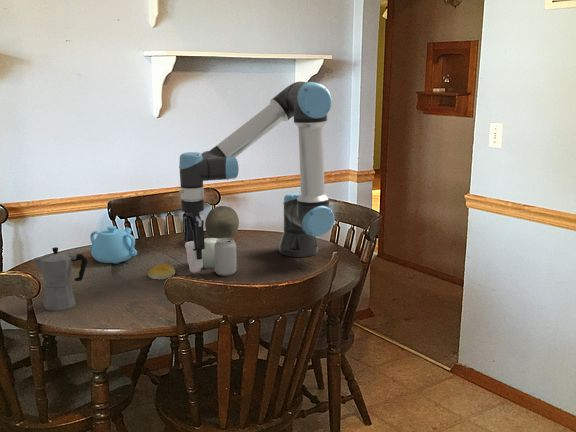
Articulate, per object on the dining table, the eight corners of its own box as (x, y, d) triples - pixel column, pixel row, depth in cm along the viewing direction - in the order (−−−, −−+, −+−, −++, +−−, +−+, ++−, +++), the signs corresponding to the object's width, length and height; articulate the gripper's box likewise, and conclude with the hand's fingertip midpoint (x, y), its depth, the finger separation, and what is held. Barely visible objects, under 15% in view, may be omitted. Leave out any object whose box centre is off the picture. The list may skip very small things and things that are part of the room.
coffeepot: (33, 312, 182) (27, 253, 178) (39, 301, 191) (34, 244, 186) (88, 309, 185) (84, 250, 180) (92, 298, 194) (88, 241, 189)
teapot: (78, 263, 228) (75, 229, 225) (109, 248, 246) (107, 217, 243) (126, 268, 222) (124, 234, 219) (154, 253, 241) (152, 221, 238)
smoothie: (201, 273, 212) (200, 233, 209) (183, 272, 213) (181, 233, 210) (206, 267, 218) (205, 228, 215) (189, 267, 219) (187, 228, 216)
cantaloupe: (197, 243, 253) (196, 207, 250) (220, 236, 265) (219, 201, 261) (225, 249, 246) (224, 212, 242) (246, 241, 257) (246, 205, 254)
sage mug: (220, 259, 233) (220, 236, 231) (230, 265, 227) (230, 241, 225) (196, 263, 228) (195, 239, 226) (206, 269, 221) (205, 245, 219)
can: (233, 277, 214) (232, 243, 211) (211, 275, 215) (211, 242, 212) (239, 270, 221) (238, 237, 218) (218, 269, 222) (218, 236, 219)
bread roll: (144, 278, 212) (143, 267, 211) (158, 271, 220) (158, 260, 219) (165, 282, 209) (164, 270, 208) (179, 274, 217) (178, 263, 216)
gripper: (172, 195, 216) (175, 259, 222) (191, 205, 200) (194, 274, 205) (193, 193, 220) (195, 256, 225) (213, 203, 203) (215, 271, 209)
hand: (195, 264), depth 215 cm, fingers closed on smoothie, 6 cm apart
